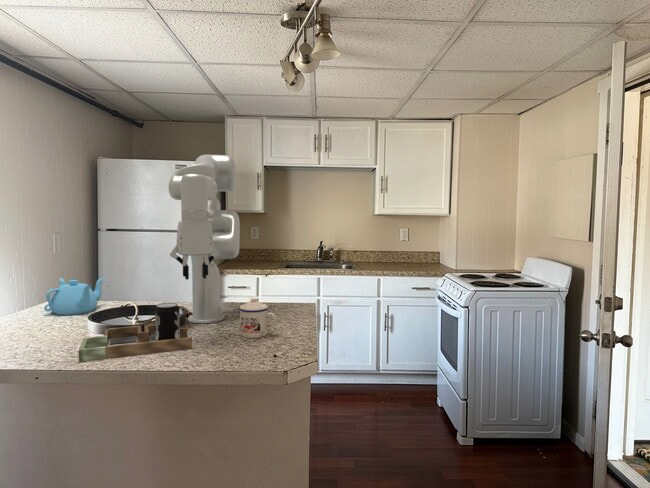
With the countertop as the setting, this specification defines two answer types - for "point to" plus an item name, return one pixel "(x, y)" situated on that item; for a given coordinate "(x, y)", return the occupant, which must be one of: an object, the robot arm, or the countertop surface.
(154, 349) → the wooden tray
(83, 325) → the countertop surface
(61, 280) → the teapot
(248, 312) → the teacup with lid
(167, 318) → the beverage can
